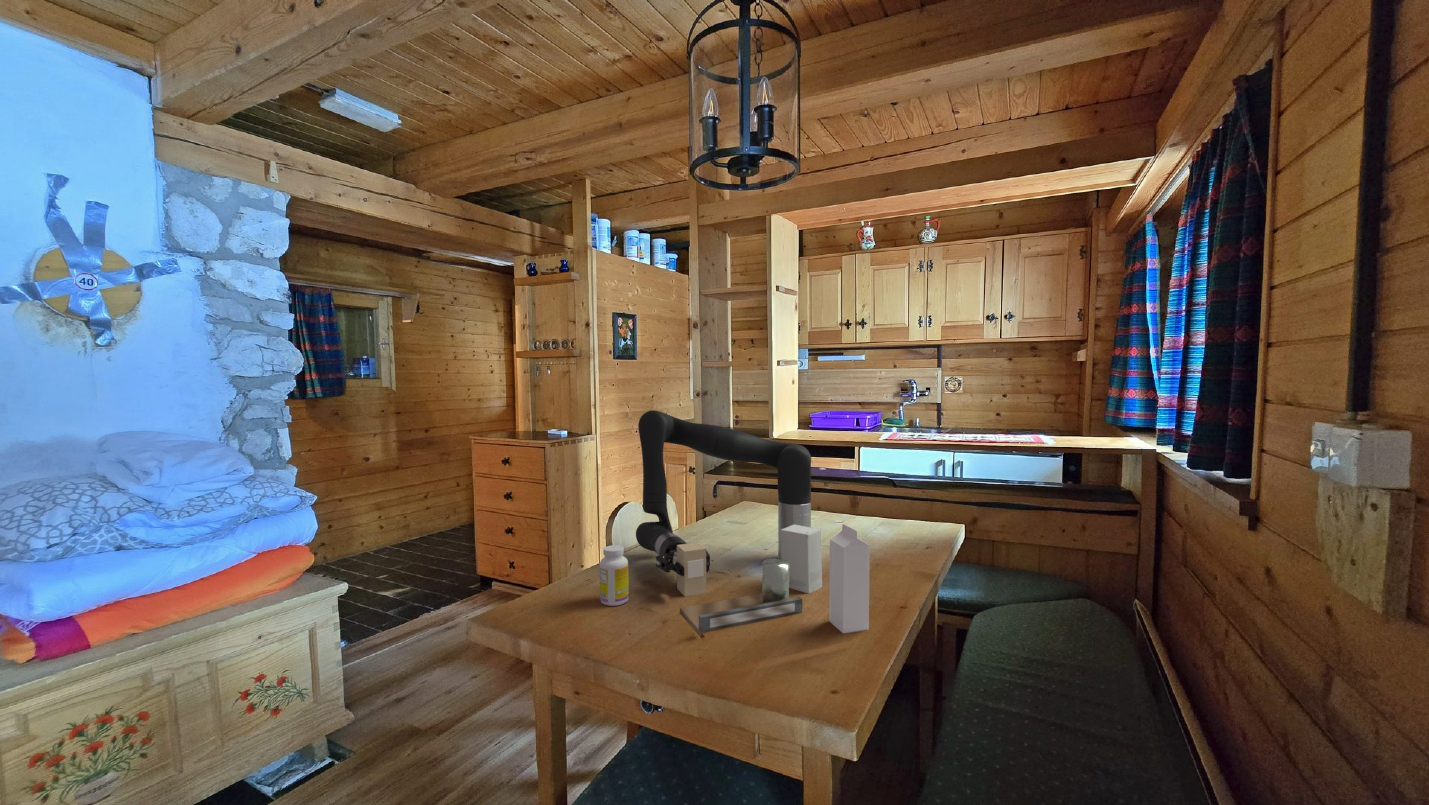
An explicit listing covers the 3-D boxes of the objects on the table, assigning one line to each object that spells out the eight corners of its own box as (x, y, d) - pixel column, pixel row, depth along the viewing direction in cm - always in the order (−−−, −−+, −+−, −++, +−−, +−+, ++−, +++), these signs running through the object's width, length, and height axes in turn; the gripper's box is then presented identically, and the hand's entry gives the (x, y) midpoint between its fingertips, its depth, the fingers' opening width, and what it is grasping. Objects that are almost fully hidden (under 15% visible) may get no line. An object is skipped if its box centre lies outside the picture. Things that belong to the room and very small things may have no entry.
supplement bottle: (631, 596, 138) (631, 544, 137) (624, 607, 132) (624, 552, 131) (604, 595, 139) (604, 543, 138) (596, 606, 132) (595, 552, 132)
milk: (843, 639, 116) (843, 532, 114) (828, 626, 121) (829, 524, 120) (869, 635, 117) (870, 529, 116) (854, 622, 123) (854, 522, 122)
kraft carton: (698, 589, 142) (697, 542, 141) (706, 598, 137) (706, 548, 136) (677, 593, 140) (676, 545, 139) (685, 601, 135) (684, 551, 134)
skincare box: (822, 591, 141) (823, 529, 140) (807, 599, 136) (808, 534, 135) (794, 582, 146) (795, 523, 146) (779, 590, 142) (779, 528, 141)
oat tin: (779, 599, 133) (780, 557, 132) (793, 609, 127) (794, 565, 127) (757, 603, 130) (758, 560, 130) (770, 613, 125) (771, 568, 124)
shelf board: (773, 596, 138) (773, 579, 137) (802, 618, 126) (802, 599, 125) (679, 613, 128) (679, 594, 128) (701, 638, 116) (701, 618, 116)
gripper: (646, 539, 148) (666, 558, 133) (697, 533, 154) (722, 551, 138) (646, 567, 149) (666, 590, 133) (697, 560, 154) (722, 581, 139)
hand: (695, 570), depth 136 cm, fingers closed on kraft carton, 5 cm apart
